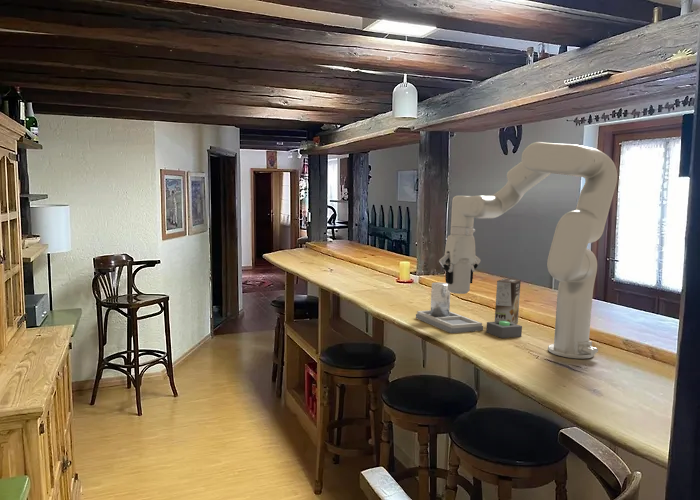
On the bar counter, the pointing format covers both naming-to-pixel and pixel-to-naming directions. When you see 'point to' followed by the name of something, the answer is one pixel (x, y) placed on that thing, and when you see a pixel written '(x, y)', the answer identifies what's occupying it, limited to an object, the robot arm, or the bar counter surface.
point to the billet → (440, 300)
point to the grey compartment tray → (450, 322)
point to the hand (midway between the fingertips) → (458, 282)
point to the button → (504, 323)
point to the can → (461, 277)
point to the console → (504, 330)
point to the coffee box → (507, 300)
